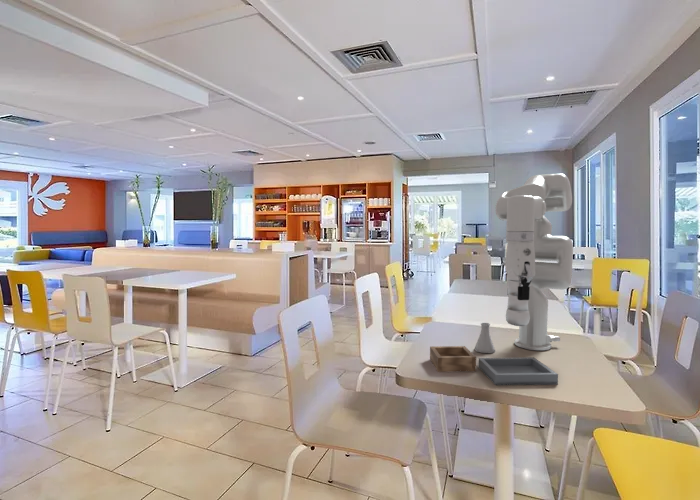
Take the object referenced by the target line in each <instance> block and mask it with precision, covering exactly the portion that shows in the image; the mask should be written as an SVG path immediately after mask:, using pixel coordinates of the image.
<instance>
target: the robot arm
mask: <svg viewBox="0 0 700 500" xmlns="http://www.w3.org/2000/svg"><path fill="white" fill-rule="evenodd" d="M572 204H573V194H572V187H571V182H570V179H569V177H568V176H567V175H565V174H564V173H547V174H546V173H545V174H535V175H532V176H530V177H528V178H527V179H526V181H525V182H524V184H523V185H521V186H518V187H516V188H512V189H508V190H505V192H503V193H501V195H500V196H499V198H498V199H497V201H496V205H495V214H496V217H497V218H498V219H499V220H501V221H505V222H506V227H505V228H506V229H505V230H506V232H505V235H506V237H505V243H507V245H506V253H505V271H506V274H507V273H508V272H509V271H510V270H513V271H514V273H515V275H516V276H518V278H519V286H518V300H528V311H529V315H530V320H529V323H528V324H527V325H526V326H518V327H519V328H518V329H519V330H518V338H515V340H514V345H516V347H519V348H521V349H525V350H530V351H548V350H550V349H551V348H552V342H560V341H561V337H560V335H559V336H558V335H555V336H554V335H551V334H548V322H549V321H548V317H549V313H548V312H549V300H548V297H547V295H546V294H545V293H544V291H543V290H542V289H546V290H547V289H549V290H567V289H568V288H570V286H571V283H572V275H573V274H572V273H573V261H574V260H573V259H574V258H573V255H574V245H573V242H572V240H571V238H570V237H568V236H565V235H552V233H553V232H552V230H553V229H552V228H553V225H552V222H551V221H549V219H548V218H547V217H546V216H545V214H546V213H547V212H549V213H551V212H553V213H556V212H557V213H559V212H566V211H567V212H568V211H569V210H570V209H571V207H572ZM522 274H526V276H521V275H522ZM522 278H524V280H523V281H522Z"/></svg>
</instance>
